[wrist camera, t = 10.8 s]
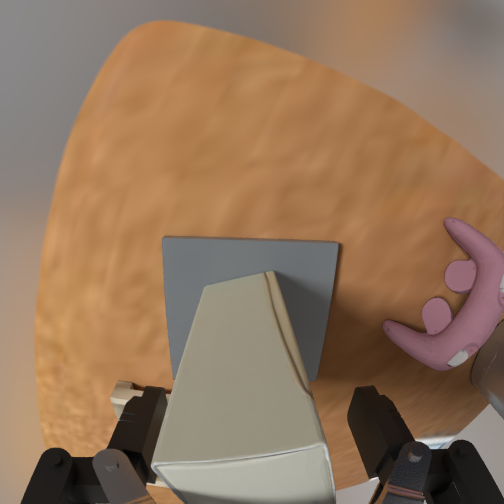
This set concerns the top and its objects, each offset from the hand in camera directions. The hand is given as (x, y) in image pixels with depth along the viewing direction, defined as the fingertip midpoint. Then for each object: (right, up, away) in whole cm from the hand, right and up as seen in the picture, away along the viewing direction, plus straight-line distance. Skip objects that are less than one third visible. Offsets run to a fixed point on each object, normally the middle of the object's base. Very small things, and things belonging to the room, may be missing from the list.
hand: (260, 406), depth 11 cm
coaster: (-1, +2, +7) cm, 8 cm away
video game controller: (+13, +4, +8) cm, 16 cm away
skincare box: (-1, +2, +7) cm, 7 cm away
